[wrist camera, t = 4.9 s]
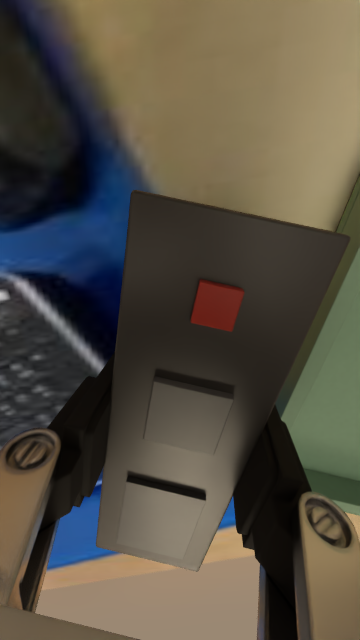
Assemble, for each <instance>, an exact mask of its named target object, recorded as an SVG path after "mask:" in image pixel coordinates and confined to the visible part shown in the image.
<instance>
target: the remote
mask: <svg viewBox="0 0 360 640" xmlns="http://www.w3.org/2000/svg"><path fill="white" fill-rule="evenodd" d="M350 238H351V237H350V236H349V235H346V234H342V233H337V232H332V231H328V230H323V229H318V228H313V227H309V226H304V225H299V224H295V223H290V222H285V221H280V220H276V219H271V218H266V217H261V216H257V215H252V214H247V213H243V212H238V211H233V210H228V209H224V208H219V207H214V206H210V205H205V204H200V203H195V202H191V201H186V200H181V199H176V198H172V197H167V196H162V195H158V194H153V193H148V192H143V191H139V190H133V191H132V193H131V199H130V209H129V219H128V229H127V239H126V249H125V259H124V269H123V279H122V289H121V299H120V309H119V319H118V329H117V339H116V349H115V359H114V369H113V379H112V389H111V405H110V414H109V424H108V434H107V444H106V454H105V463H104V469H103V479H102V489H101V499H100V509H99V519H98V529H97V539H96V546H97V547H99V548H103V549H108V550H112V551H116V552H120V553H124V554H128V555H132V556H136V557H140V558H144V559H148V560H152V561H156V562H160V563H164V564H168V565H172V566H176V567H180V568H184V569H189V570H193V571H196V572H197V571H199V568H200V566H201V564H202V562H203V560H204V557H205V555H206V553H207V551H208V549H209V547H210V544H211V542H212V540H213V538H214V536H215V534H216V531H217V529H218V527H219V525H220V523H221V520H222V518H223V516H224V514H225V512H226V510H227V507H228V505H229V503H230V501H231V499H232V497H233V494H234V492H235V489H236V487H237V485H238V483H239V481H240V479H241V476H242V474H243V472H244V470H245V468H246V465H247V463H248V461H249V459H250V457H251V455H252V452H253V450H254V448H255V446H256V444H257V442H258V439H259V437H260V435H261V433H262V431H263V429H264V427H265V425H266V423H267V420H268V418H269V416H270V414H271V412H272V409H273V407H274V405H275V403H276V401H277V399H278V396H279V394H280V392H281V390H282V388H283V385H284V383H285V381H286V379H287V377H288V375H289V372H290V370H291V368H292V366H293V364H294V362H295V359H296V357H297V355H298V353H299V351H300V348H301V346H302V344H303V342H304V340H305V338H306V335H307V333H308V331H309V329H310V327H311V325H312V322H313V320H314V318H315V316H316V314H317V311H318V309H319V307H320V305H321V303H322V301H323V298H324V296H325V294H326V292H327V290H328V288H329V285H330V283H331V281H332V279H333V277H334V274H335V272H336V270H337V268H338V266H339V264H340V261H341V259H342V257H343V255H344V253H345V251H346V248H347V246H348V244H349V242H350Z"/></svg>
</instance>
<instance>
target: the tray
mask: <svg viewBox="0 0 360 640" xmlns="http://www.w3.org/2000/svg"><path fill="white" fill-rule="evenodd" d="M336 232H337V233H342V234H346V235H349V236H350V237H351V238H350V242H349V244H348V246H347V248H346V251H345V253H344V255H343V257H342V259H341V261H340V264H339V266H338V268H337V270H336V272H335V274H334V277H333V279H332V281H331V283H330V285H329V288H328V290H327V292H326V294H325V296H324V298H323V301H322V303H321V305H320V307H319V309H318V311H317V314H316V316H315V318H314V320H313V322H312V325H311V327H310V329H309V331H308V333H307V335H306V338H305V340H304V342H303V344H302V346H301V348H300V351H299V353H298V355H297V357H296V359H295V362H294V364H293V366H292V368H291V370H290V372H289V375H288V377H287V379H286V381H285V383H284V385H283V388H282V390H281V392H280V394H279V396H278V399H277V401H276V403H275V405H276V408H277V410H278V413H279V416H280V418H281V421H283V422H285V424H286V425H287V428H288V430H289V433H290V435H291V438H292V440H293V443H294V446H295V448H296V451H297V453H298V456H299V458H300V461H301V464H302V466H303V469H304V471H305V474H306V477H307V479H308V482H309V484H310V487H311V489H312V492H317V493H320V494H323V495H324V496H326V497H328V498H330V499H331V500H332V501H334V502H335V503H336V504H337V505H338V506H340V508H341V509H342V510H343V511H344V512H347V513H351V514H355V515H359V516H360V175H359V178H358V180H357V182H356V185H355V187H354V190H353V192H352V194H351V197H350V199H349V202H348V204H347V206H346V209H345V211H344V214H343V216H342V219H341V221H340V223H339V226H338V228H337V231H336Z"/></svg>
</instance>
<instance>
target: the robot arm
mask: <svg viewBox="0 0 360 640" xmlns="http://www.w3.org/2000/svg"><path fill="white" fill-rule="evenodd" d="M114 359H115V352H114V354H113V355H112V357H111V358H110V360H109V361H108V362H107V364H106V365H105V367H104V368H103V369H102V371H101V372H100V374H99V375H98V376H97V378H95V377H91V376H88V377H87V378H86V379H85V380H84V381H83V382H82V384H81V385H80V386H79V388H78V389H77V390H76V391H75V393H74V394H73V395H72V397H71V398H70V399H69V400H68V402H67V403H66V404H65V406H64V407H63V408H62V409H61V411H60V412H59V413H58V415H57V416H56V417H55V419H54V420H53V421H52V422H51V424H50V425H49V426H48V428H32V429H29V430H26V431H23V432H21V433H19V434H17V435H15V436H14V437H13V438H11V439H10V440H9V441H8V442H7V443H6V444H5V445H4V446H3V448H2V449H1V450H0V640H139V639H135V638H131V637H127V636H123V635H119V634H116V633H112V632H108V631H104V630H100V629H96V628H92V627H88V626H84V625H79V624H76V623H72V622H68V621H64V620H59V619H56V618H52V617H48V616H43V615H40V614H36V613H35V610H36V607H37V603H38V599H39V596H40V592H41V588H42V585H43V581H44V577H45V573H46V570H47V566H48V562H49V558H50V555H51V551H52V547H53V543H54V540H55V536H56V532H57V528H58V525H59V521H60V518H61V517H63V516H65V515H66V514H68V513H70V511H71V509H72V507H73V506H77V507H80V505H81V503H82V501H83V498H84V496H87V497H90V496H91V494H92V492H93V489H94V487H95V485H96V482H97V480H98V478H99V475H100V473H101V471H102V468H103V466H104V463H105V454H106V444H107V434H108V424H109V414H110V405H111V389H112V379H113V369H114ZM233 498H234V508H235V519H236V528H237V532H238V533H239V534H242V540H243V547H244V548H248V549H253V550H254V551H255V558H256V559H257V560H258V562H259V563H260V576H259V599H258V600H259V601H258V627H257V640H360V541H359V538H358V534H357V532H356V530H355V527H354V525H353V523H352V522H351V520H350V519H349V517H348V516H347V514H346V513H345V512H344V511H343V510H342V509H341V508H340V506H338V505H337V504H336V503H335V502H334V501H332V500H331V499H330V498H328V497H326V496H324V495H323V494H320V493H317V492H312V489H311V487H310V484H309V482H308V479H307V477H306V474H305V471H304V469H303V466H302V464H301V461H300V458H299V456H298V453H297V451H296V448H295V446H294V443H293V440H292V438H291V435H290V433H289V430H288V428H287V425H286V424H285V422H283V421H281V418H280V416H279V413H278V410H277V408H276V405H274V407H273V409H272V412H271V414H270V416H269V418H268V420H267V423H266V425H265V427H264V429H263V431H262V433H261V435H260V437H259V439H258V442H257V444H256V446H255V448H254V450H253V452H252V455H251V457H250V459H249V461H248V463H247V465H246V468H245V470H244V472H243V474H242V476H241V479H240V481H239V483H238V485H237V487H236V489H235V492H234V494H233Z"/></svg>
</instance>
